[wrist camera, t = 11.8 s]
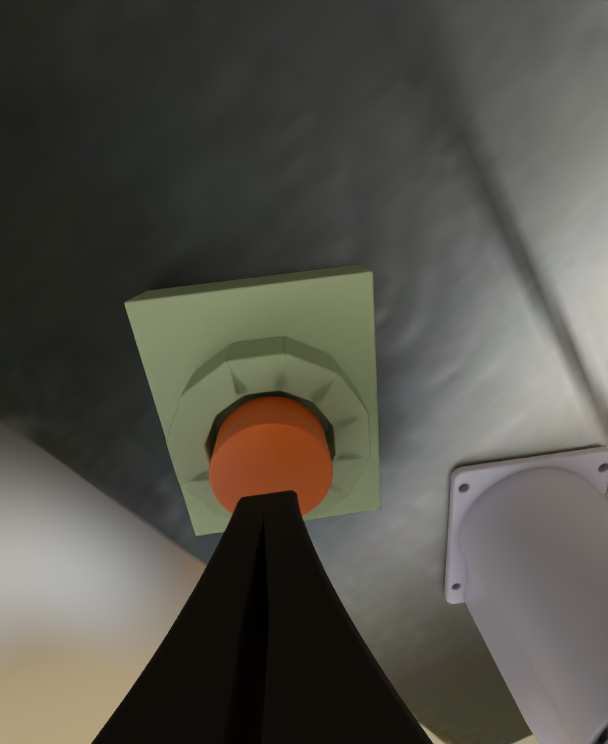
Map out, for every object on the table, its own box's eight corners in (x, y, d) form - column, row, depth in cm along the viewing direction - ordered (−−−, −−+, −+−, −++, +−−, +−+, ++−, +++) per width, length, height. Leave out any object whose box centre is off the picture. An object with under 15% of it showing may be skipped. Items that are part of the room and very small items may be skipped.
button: (329, 478, 13) (337, 515, 11) (228, 493, 13) (221, 532, 11) (320, 388, 11) (327, 415, 10) (206, 403, 11) (195, 433, 10)
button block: (368, 476, 17) (394, 544, 14) (204, 499, 17) (185, 575, 13) (358, 264, 13) (390, 278, 10) (146, 290, 13) (96, 315, 9)
